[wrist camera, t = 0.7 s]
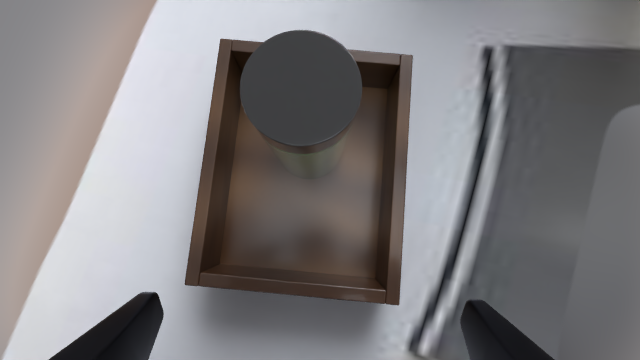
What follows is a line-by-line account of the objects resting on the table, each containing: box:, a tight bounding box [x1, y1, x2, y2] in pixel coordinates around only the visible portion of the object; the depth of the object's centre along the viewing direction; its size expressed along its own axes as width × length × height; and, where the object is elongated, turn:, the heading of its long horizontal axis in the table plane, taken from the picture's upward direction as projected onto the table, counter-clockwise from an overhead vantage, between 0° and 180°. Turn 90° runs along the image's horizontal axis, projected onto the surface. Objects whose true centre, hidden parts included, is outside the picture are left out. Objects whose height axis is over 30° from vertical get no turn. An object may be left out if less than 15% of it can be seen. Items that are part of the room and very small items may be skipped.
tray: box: [185, 39, 413, 305], centre depth 20 cm, size 16×13×4 cm
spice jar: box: [240, 30, 362, 179], centre depth 17 cm, size 5×5×10 cm
